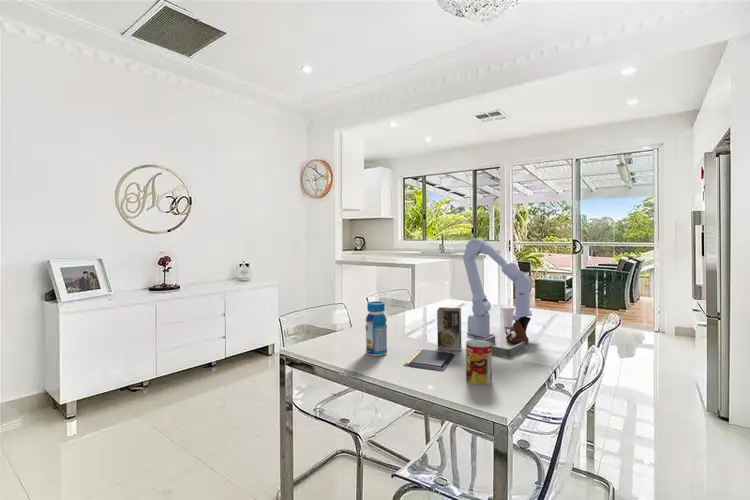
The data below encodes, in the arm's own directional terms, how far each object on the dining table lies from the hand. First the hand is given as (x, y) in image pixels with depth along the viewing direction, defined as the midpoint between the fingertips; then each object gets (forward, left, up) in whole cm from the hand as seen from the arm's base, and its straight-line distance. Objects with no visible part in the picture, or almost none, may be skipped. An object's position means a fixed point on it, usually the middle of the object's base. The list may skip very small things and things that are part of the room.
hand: (522, 333), depth 166 cm
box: (0, -19, -2) cm, 19 cm away
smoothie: (-15, +17, -3) cm, 23 cm away
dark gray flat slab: (-13, -49, -3) cm, 51 cm away
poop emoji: (0, -5, -3) cm, 6 cm away
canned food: (+10, -54, -3) cm, 55 cm away
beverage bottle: (-33, -57, -3) cm, 66 cm away
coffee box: (-16, -32, -3) cm, 36 cm away
